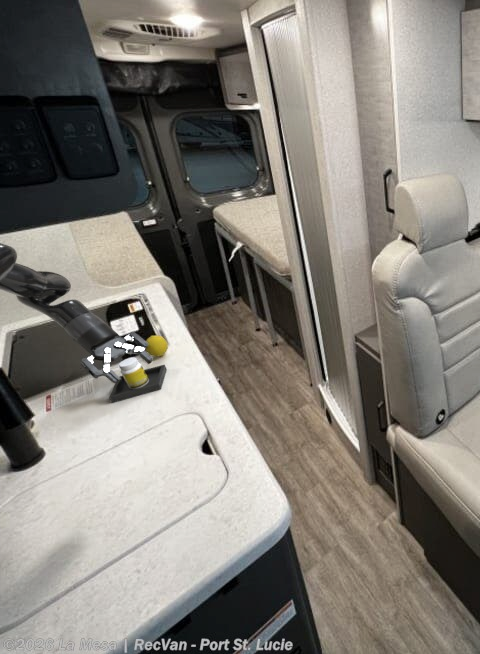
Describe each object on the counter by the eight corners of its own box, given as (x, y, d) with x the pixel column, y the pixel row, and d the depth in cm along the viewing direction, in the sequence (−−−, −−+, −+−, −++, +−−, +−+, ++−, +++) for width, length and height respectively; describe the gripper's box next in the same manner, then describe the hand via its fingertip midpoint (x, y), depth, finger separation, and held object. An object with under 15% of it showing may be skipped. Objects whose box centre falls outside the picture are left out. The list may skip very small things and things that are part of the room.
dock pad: (111, 403, 107) (108, 398, 106) (120, 381, 115) (118, 376, 114) (161, 389, 112) (158, 384, 111) (166, 369, 119) (164, 364, 118)
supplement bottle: (152, 381, 114) (141, 359, 110) (135, 391, 110) (123, 369, 106) (143, 376, 116) (131, 354, 112) (125, 387, 112) (113, 364, 108)
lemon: (146, 359, 124) (136, 339, 120) (163, 349, 128) (154, 329, 125) (159, 363, 122) (149, 342, 118) (175, 352, 127) (166, 332, 123)
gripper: (62, 341, 100) (111, 383, 102) (120, 312, 112) (163, 350, 114) (59, 353, 104) (106, 393, 106) (116, 324, 116) (157, 361, 118)
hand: (136, 371), depth 110 cm, fingers open, 8 cm apart
